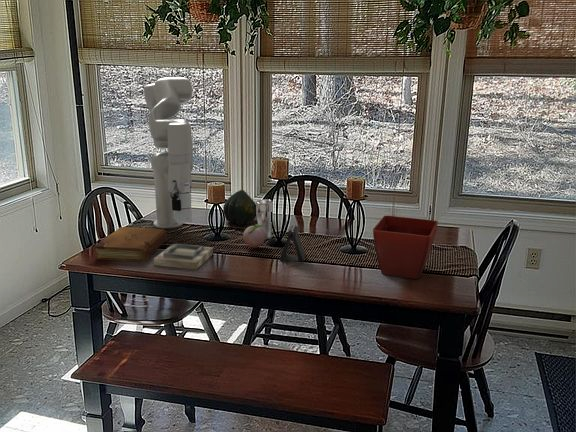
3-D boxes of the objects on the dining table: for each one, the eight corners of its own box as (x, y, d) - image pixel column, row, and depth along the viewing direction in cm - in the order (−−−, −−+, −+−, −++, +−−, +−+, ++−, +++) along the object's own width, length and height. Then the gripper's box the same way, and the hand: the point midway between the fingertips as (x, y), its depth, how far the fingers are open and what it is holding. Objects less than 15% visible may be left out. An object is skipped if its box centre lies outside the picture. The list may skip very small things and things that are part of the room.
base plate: (173, 249, 221) (173, 240, 220) (213, 253, 218) (212, 244, 217) (154, 264, 207) (153, 255, 206) (196, 269, 203) (195, 259, 202)
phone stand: (305, 256, 216) (306, 226, 212) (303, 262, 210) (304, 231, 206) (282, 255, 217) (282, 224, 214) (279, 260, 211) (279, 229, 208)
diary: (145, 263, 209) (143, 248, 208) (95, 261, 212) (94, 246, 210) (166, 242, 231) (165, 228, 229) (121, 240, 234) (120, 226, 232)
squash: (225, 218, 243) (246, 189, 245) (212, 210, 256) (232, 183, 258) (249, 235, 250) (269, 207, 252) (235, 227, 263) (254, 201, 265)
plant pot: (382, 258, 215) (384, 214, 210) (434, 265, 208) (438, 220, 203) (369, 276, 198) (372, 229, 193) (426, 285, 191) (430, 236, 186)
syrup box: (192, 221, 206) (190, 181, 202) (175, 223, 204) (173, 183, 200) (189, 217, 211) (187, 178, 207) (172, 219, 209) (170, 179, 205)
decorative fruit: (249, 243, 229) (248, 219, 227) (268, 245, 227) (268, 221, 224) (239, 250, 221) (239, 225, 218) (259, 253, 218) (259, 228, 216)
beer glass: (274, 234, 240) (274, 199, 236) (272, 240, 233) (271, 204, 229) (257, 233, 241) (257, 198, 236) (254, 239, 234) (254, 203, 230)
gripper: (180, 153, 210) (182, 200, 215) (158, 162, 194) (161, 213, 199) (199, 154, 209) (201, 201, 214) (178, 164, 192) (181, 214, 197)
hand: (181, 207), depth 206 cm, fingers closed on syrup box, 8 cm apart
